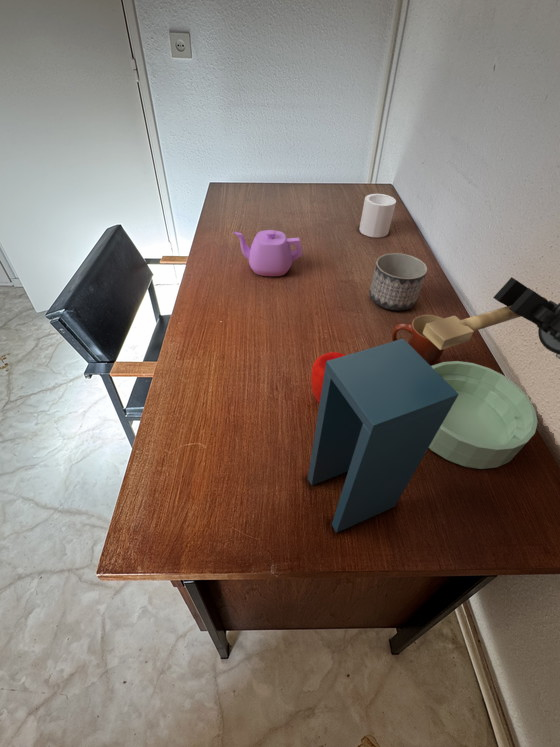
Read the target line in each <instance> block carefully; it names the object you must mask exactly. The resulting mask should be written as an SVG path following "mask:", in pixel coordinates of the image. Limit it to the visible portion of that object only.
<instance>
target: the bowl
mask: <svg viewBox="0 0 560 747" xmlns="http://www.w3.org/2000/svg"><path fill="white" fill-rule="evenodd" d="M431 367H432V368H433V369H434V370H435V371H436V372H437V373H438V374H439V375H440V376H441V377H442V378H443V379H444V380H445V381H446V382H447V383H448V384H449V385H450V386H451V387H452V388H453V389H454V390H455V391H456V392H457V393H458V394H459V395H458V397H457V399H456V400H455V402H454V404H453V405H452V407H451V409H450V411H449V412H448V414H447V416H446V418H445V419H444V421H443V423H442V425H441V427H440V428H439V430H438V432H437V434H436V435H435V437H434V439H433V441H432V442H431V444H430V446H429V448H428V449H429V450H430V451H432V452H434V453H435V454H437V455H438V456H439V457H442V458H443V459H445V460H446V461H449V462H451V463H454V464H455V465H456V464H457V465H459V466H462V467H465V468H471V469H479V470H485V469H494V468H499V467H501V466H503V465H506V464H509V463H510V462H511V461H512V460H513V459H514V458H515V457H516V455H517V454H518V453H519V452H520V451H521V450H522V449H523V448H524V447H525V445H526V444H527V443H528V442H529V441H530V440H531V439H532V437H533V436H534V435H535V434H536V432H537V427H538V423H539V421H538V416H537V412H536V411H537V410H536V408H535V406H534V405H533V403H532V401H531V399H530V398H529V396H528V395H527V394H526V393H525V391H523V389H521V387H520V386H519V385H518V384H516V382H514V381H512V380H511V379H509V378H508V377H507V376H505V375H504V374H502V373H500V372H498V371H496V370H494V369H492V368H490V367H488V366H484V365H480V364H477V363H474V362H468V361H460V360H453V361H451V360H450V361H442V362H439V363H438V364H436V365H433V366H431Z"/></svg>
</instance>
